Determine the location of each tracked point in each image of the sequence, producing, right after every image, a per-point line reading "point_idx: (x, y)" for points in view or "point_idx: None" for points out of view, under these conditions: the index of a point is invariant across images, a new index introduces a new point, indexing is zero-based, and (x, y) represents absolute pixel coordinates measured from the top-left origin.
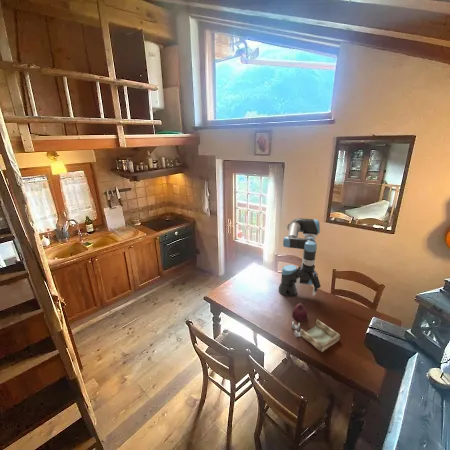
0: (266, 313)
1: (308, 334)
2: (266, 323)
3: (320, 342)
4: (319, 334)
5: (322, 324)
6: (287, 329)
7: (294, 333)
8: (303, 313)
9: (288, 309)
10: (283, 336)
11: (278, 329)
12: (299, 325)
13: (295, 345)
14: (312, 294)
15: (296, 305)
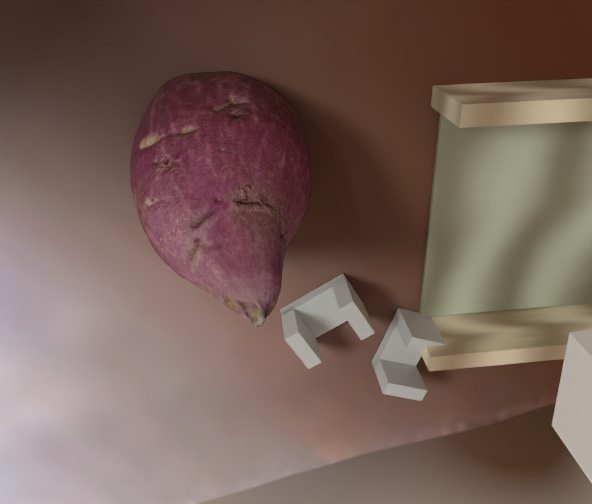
0: (15, 410)
1: (515, 355)
2: (142, 467)
3: (584, 255)
4: (533, 188)
5: (546, 120)
6: (297, 374)
7: (374, 367)
8: (302, 217)
9: (48, 183)
10: (335, 437)
11: (254, 429)
12: (363, 314)
13: (451, 418)
14: (568, 447)
15: (177, 271)
